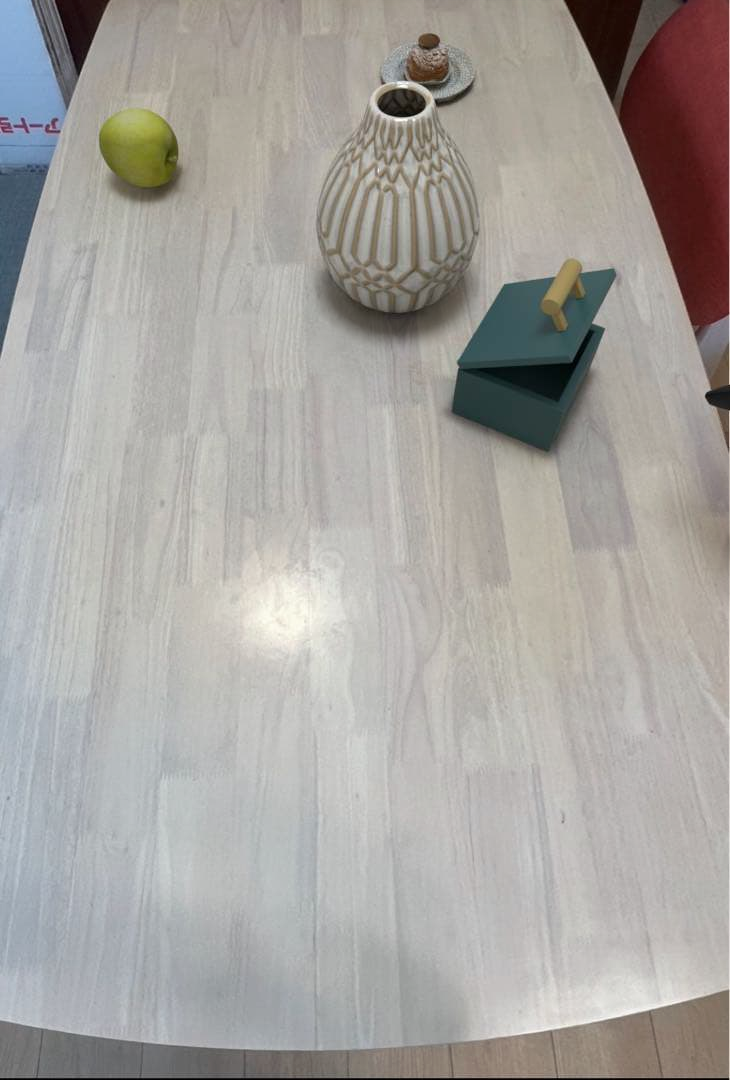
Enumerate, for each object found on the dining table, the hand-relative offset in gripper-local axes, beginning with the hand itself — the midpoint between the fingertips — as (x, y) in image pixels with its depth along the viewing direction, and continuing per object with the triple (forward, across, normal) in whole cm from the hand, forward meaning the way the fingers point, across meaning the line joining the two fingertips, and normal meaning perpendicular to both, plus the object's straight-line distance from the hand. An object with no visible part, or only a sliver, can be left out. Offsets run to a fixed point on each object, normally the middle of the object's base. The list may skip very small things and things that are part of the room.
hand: (724, 356), depth 59 cm
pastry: (+41, -40, -22) cm, 61 cm away
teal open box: (+19, 0, -2) cm, 19 cm away
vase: (+32, -7, -14) cm, 35 cm away
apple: (+55, -8, -37) cm, 67 cm away
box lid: (+13, 0, -8) cm, 15 cm away
